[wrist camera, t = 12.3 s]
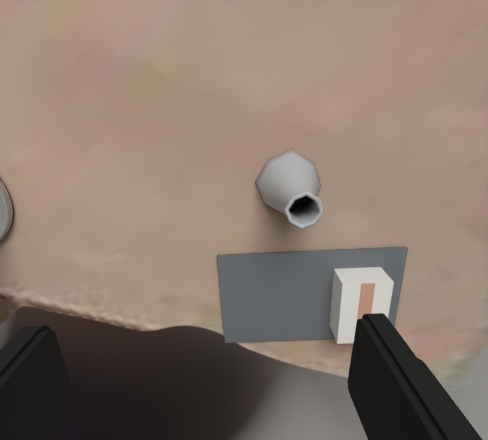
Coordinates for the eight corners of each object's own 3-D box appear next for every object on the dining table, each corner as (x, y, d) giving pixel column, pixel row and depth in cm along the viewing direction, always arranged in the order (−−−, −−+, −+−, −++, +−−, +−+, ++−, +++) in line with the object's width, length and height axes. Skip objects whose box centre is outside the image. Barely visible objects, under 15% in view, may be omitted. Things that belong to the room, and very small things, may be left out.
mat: (225, 340, 42) (225, 342, 41) (217, 254, 37) (217, 256, 36) (390, 333, 42) (392, 336, 41) (405, 246, 36) (407, 248, 36)
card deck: (333, 268, 37) (342, 284, 34) (380, 267, 37) (394, 282, 34) (329, 324, 40) (337, 344, 37) (372, 323, 40) (384, 342, 37)
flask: (331, 185, 34) (364, 214, 24) (283, 223, 35) (296, 264, 26) (293, 137, 32) (313, 149, 22) (244, 180, 33) (244, 207, 24)
